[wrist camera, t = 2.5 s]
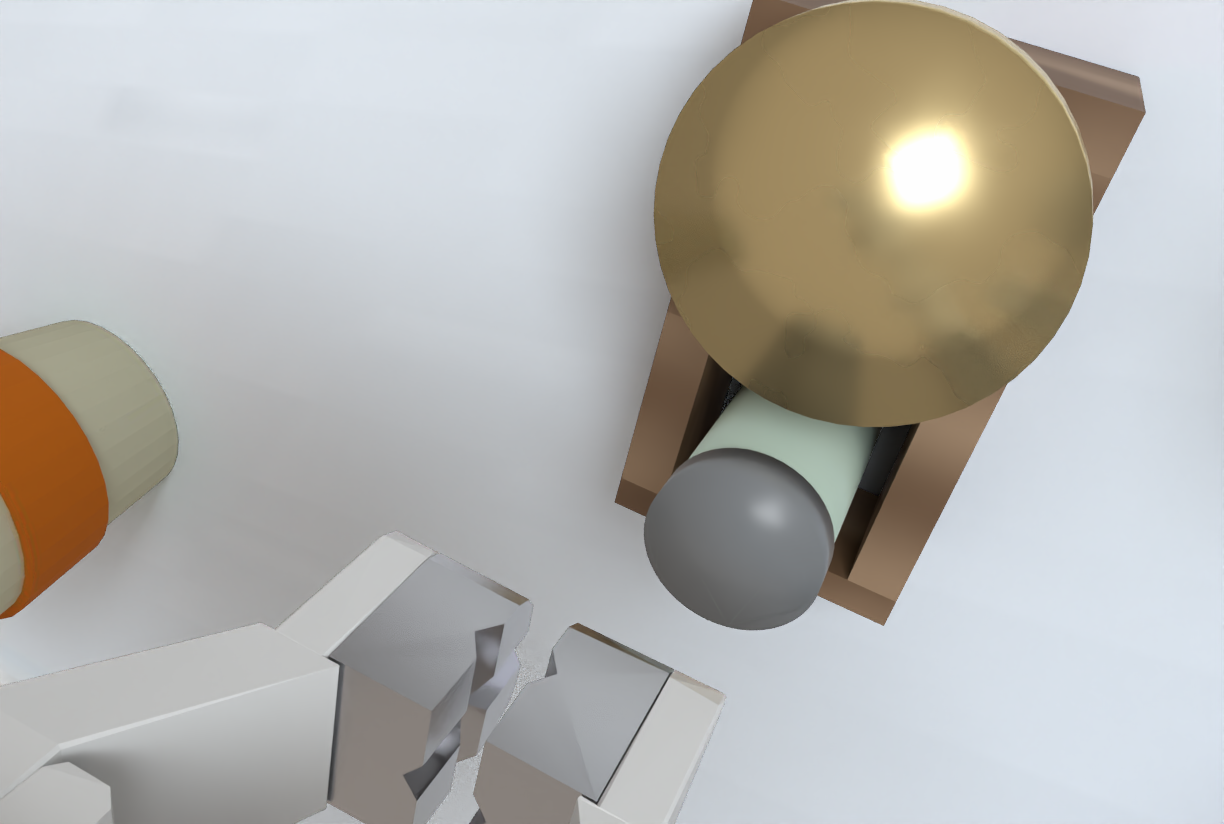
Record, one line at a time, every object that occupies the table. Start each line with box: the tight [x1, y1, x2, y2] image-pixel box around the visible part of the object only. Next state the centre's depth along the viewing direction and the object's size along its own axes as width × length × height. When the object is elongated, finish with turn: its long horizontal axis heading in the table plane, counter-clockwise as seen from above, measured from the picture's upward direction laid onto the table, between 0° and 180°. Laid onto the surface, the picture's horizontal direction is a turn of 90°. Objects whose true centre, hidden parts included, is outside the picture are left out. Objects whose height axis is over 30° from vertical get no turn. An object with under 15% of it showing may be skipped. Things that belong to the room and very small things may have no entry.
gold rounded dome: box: [654, 0, 1093, 427], centre depth 23 cm, size 9×9×6 cm
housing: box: [615, 0, 1146, 626], centre depth 28 cm, size 16×9×5 cm, turn 166°
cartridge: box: [644, 385, 883, 630], centre depth 28 cm, size 5×5×10 cm
